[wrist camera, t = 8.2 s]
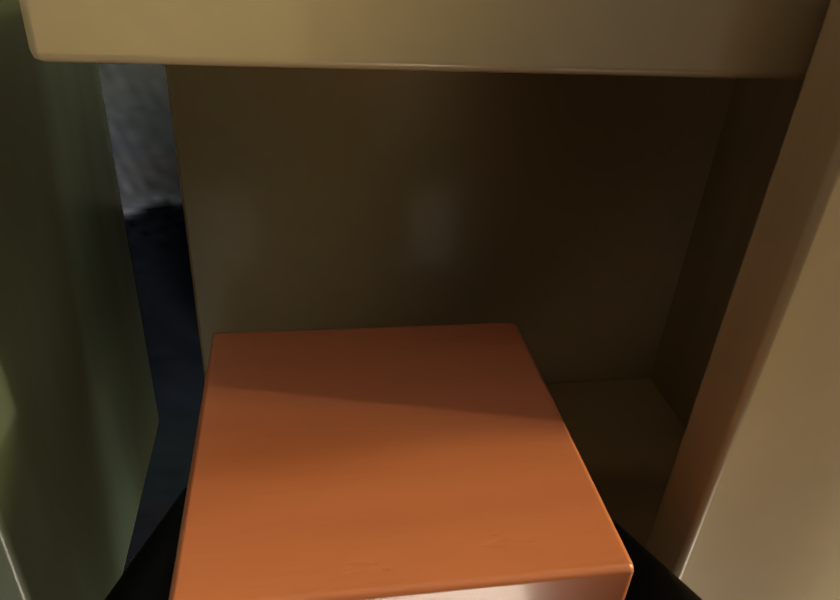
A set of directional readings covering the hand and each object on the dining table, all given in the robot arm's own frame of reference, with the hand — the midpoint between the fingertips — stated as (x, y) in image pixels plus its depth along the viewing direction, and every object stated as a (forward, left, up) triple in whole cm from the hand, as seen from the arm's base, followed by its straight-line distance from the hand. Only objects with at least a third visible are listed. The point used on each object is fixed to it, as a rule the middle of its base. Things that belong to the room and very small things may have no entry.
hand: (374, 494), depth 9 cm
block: (0, 0, -1) cm, 1 cm away
